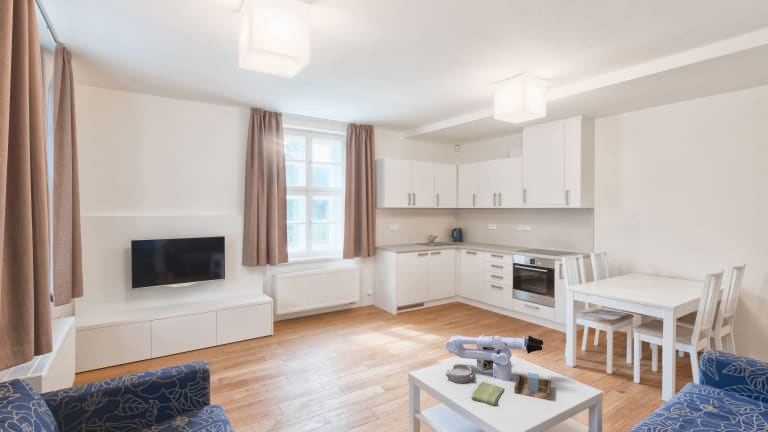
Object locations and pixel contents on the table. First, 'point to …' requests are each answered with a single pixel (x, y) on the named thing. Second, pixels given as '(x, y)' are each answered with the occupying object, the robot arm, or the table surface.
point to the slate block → (533, 382)
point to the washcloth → (487, 393)
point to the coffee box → (485, 363)
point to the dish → (460, 373)
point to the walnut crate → (522, 390)
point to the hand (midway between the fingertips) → (542, 345)
